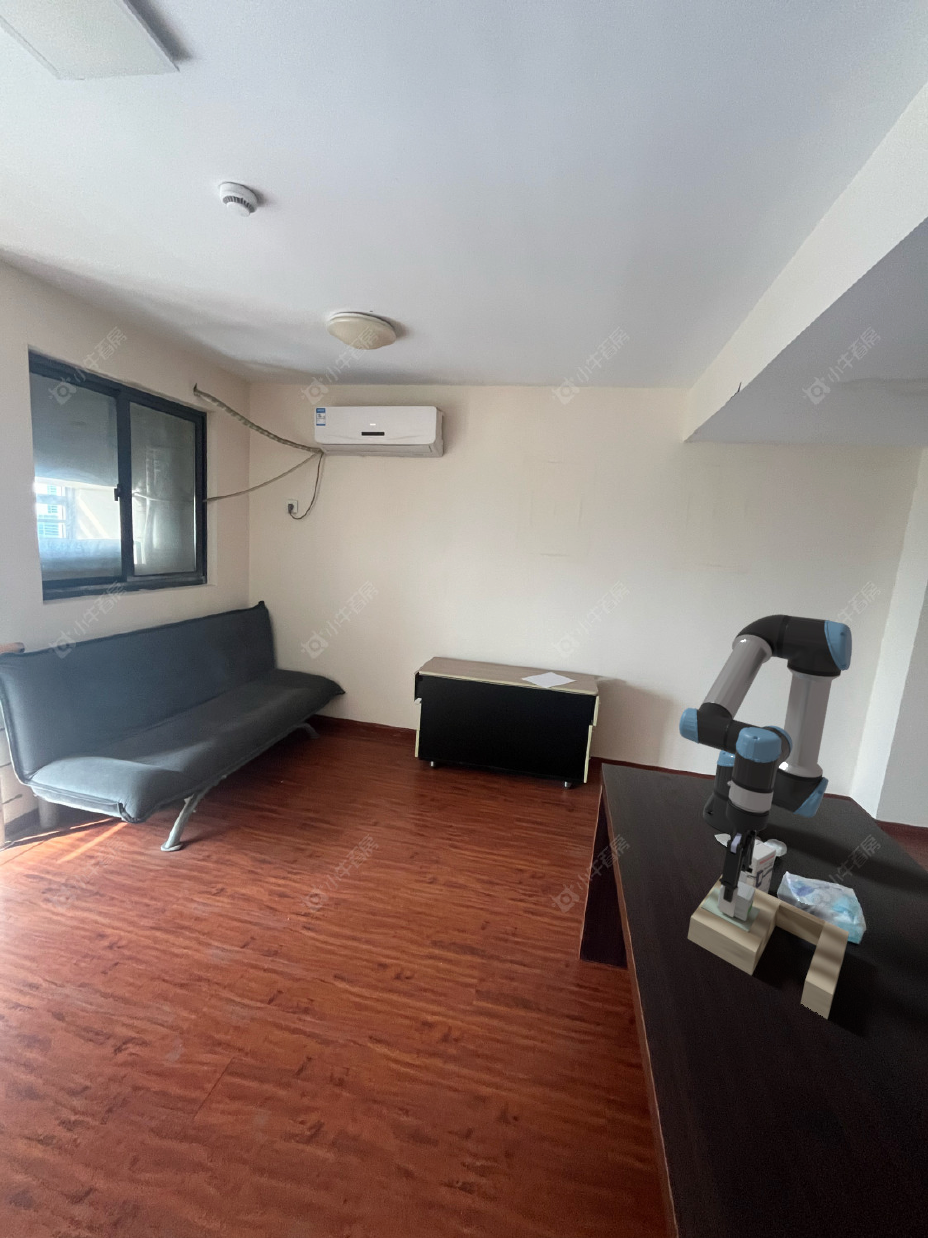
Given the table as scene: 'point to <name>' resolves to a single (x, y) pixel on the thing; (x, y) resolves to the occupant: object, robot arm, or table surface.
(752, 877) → the ink box
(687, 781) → the table surface
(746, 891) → the small box
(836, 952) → the board
